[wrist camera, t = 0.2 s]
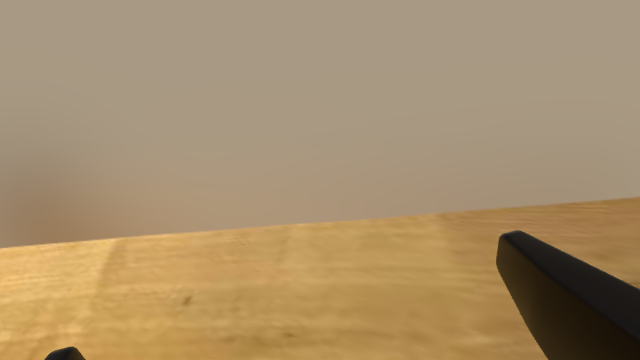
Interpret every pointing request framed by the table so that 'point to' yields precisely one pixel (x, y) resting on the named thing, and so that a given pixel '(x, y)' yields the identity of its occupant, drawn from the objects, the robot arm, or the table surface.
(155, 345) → the table surface
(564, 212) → the table surface
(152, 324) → the table surface
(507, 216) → the table surface
